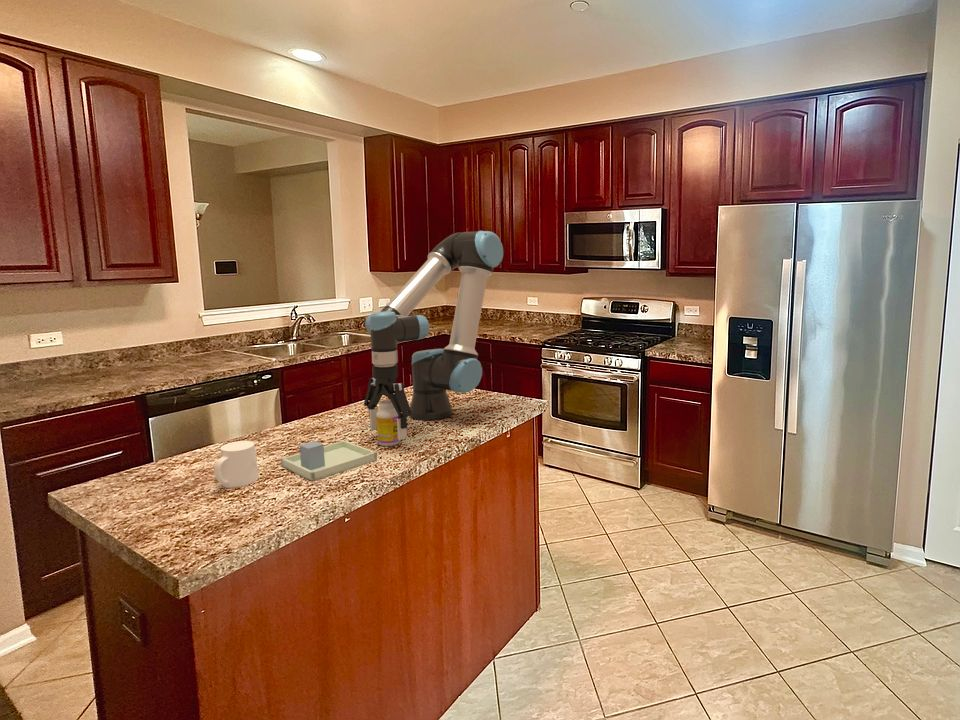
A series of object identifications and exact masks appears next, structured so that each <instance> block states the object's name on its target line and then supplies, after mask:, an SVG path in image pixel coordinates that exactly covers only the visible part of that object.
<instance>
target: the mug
mask: <svg viewBox="0 0 960 720" xmlns="http://www.w3.org/2000/svg"><path fill="white" fill-rule="evenodd" d="M258 465H259V464H258V456H257V452H256V446H255V442H254V441H250V440H239V441H233V442H229V443H225V444H224V445H222V446H220V458H218V459H217V460H216V461H215V463H214V468H213V472H214V473H213V474H214V477H215V479H216V481H217V482H218V483H220V484H221V486H223V488H226V489H227V488H228V489H234V488H240V487H241V488H242V487H244V486H247V485H250V484H252V483H254V482H256V481H257V480H259V477H260V475H259V468H258Z"/></svg>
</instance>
